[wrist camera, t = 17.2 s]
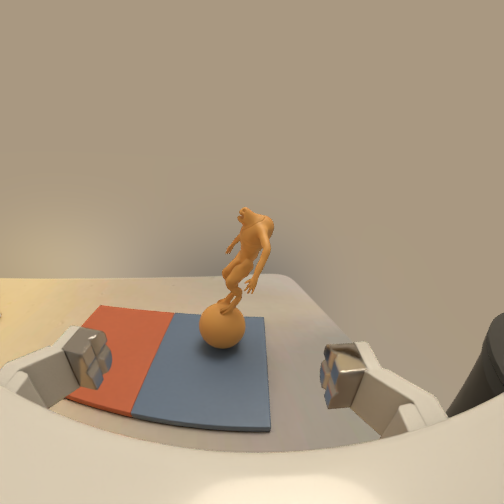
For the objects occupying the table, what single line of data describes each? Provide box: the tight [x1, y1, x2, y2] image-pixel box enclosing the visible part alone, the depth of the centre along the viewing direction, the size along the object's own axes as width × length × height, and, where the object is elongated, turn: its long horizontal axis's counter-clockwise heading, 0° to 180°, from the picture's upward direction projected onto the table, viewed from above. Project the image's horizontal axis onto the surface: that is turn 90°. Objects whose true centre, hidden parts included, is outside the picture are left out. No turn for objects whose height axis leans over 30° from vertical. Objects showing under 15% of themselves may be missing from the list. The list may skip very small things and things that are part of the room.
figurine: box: [199, 207, 274, 349], centre depth 22 cm, size 8×6×12 cm
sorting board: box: [65, 305, 271, 431], centre depth 21 cm, size 19×14×1 cm
